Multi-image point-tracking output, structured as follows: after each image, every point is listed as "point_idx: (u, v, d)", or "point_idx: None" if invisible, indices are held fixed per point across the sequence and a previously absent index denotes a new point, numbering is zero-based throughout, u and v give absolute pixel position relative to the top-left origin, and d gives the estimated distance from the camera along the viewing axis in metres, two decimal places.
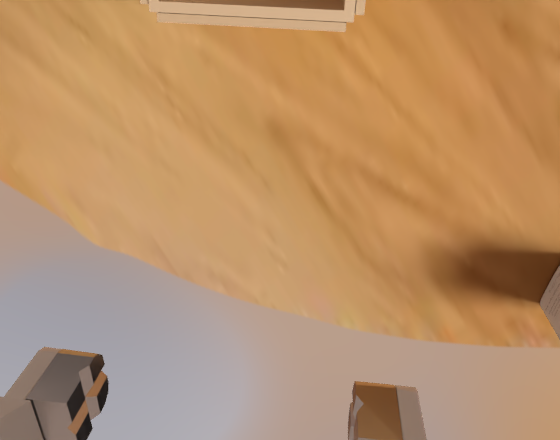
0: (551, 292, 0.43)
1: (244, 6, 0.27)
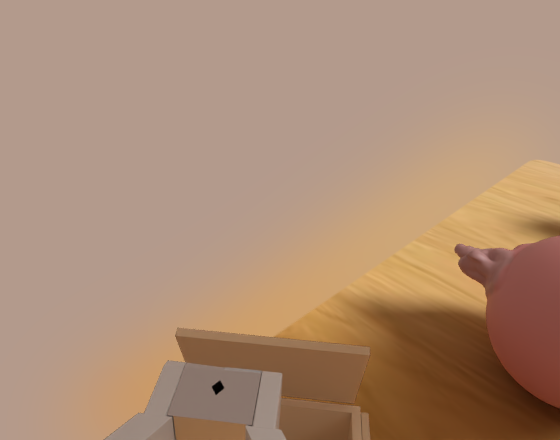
0: None
1: None
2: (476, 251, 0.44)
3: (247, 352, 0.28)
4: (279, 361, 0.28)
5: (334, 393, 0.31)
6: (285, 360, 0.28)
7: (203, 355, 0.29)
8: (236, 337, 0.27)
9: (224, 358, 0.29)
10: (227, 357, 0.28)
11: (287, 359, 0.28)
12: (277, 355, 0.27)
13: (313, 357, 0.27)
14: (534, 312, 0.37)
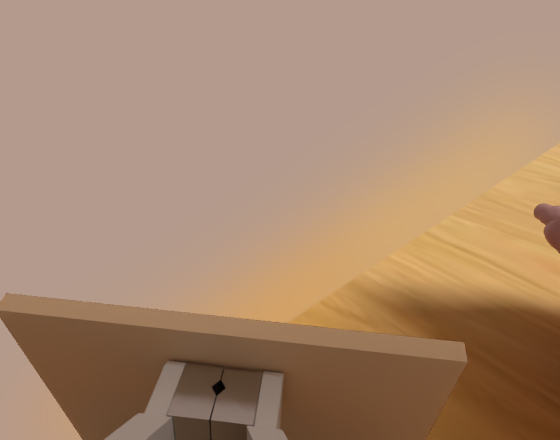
0: None
1: None
2: None
3: (169, 357, 0.12)
4: None
5: None
6: None
7: (76, 366, 0.13)
8: (140, 315, 0.11)
9: (123, 373, 0.13)
10: (128, 371, 0.13)
11: None
12: (239, 364, 0.12)
13: (324, 369, 0.11)
14: None
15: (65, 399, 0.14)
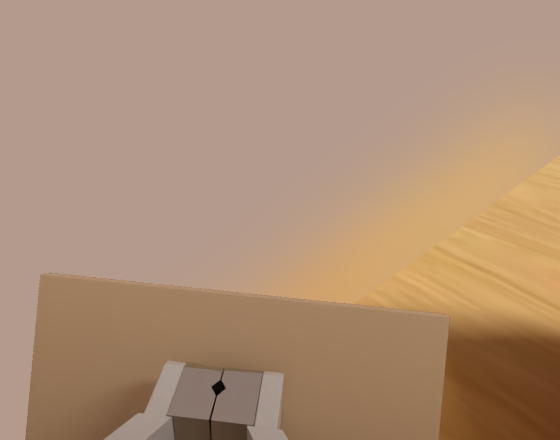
0: None
1: None
2: None
3: (181, 337, 0.13)
4: None
5: None
6: (261, 368, 0.12)
7: (79, 365, 0.13)
8: (166, 286, 0.13)
9: (124, 373, 0.13)
10: (131, 368, 0.13)
11: (266, 362, 0.12)
12: (246, 344, 0.12)
13: (325, 344, 0.12)
14: None
15: None
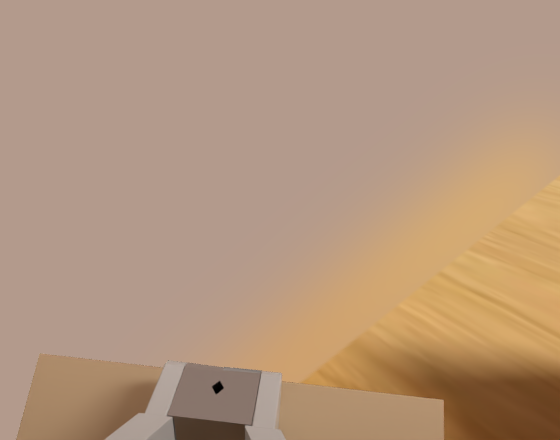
0: None
1: None
2: None
3: None
4: None
5: None
6: None
7: None
8: None
9: None
10: None
11: None
12: None
13: (322, 428, 0.12)
14: None
15: None
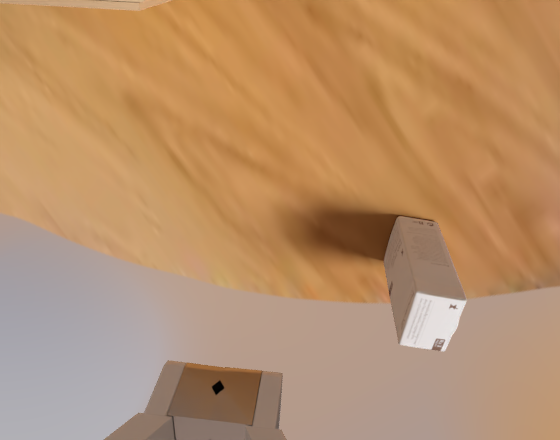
0: (388, 249, 0.48)
1: None
2: None
3: None
4: None
5: None
6: None
7: None
8: None
9: None
10: None
11: None
12: None
13: None
14: None
15: None
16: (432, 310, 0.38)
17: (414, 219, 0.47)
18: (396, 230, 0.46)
